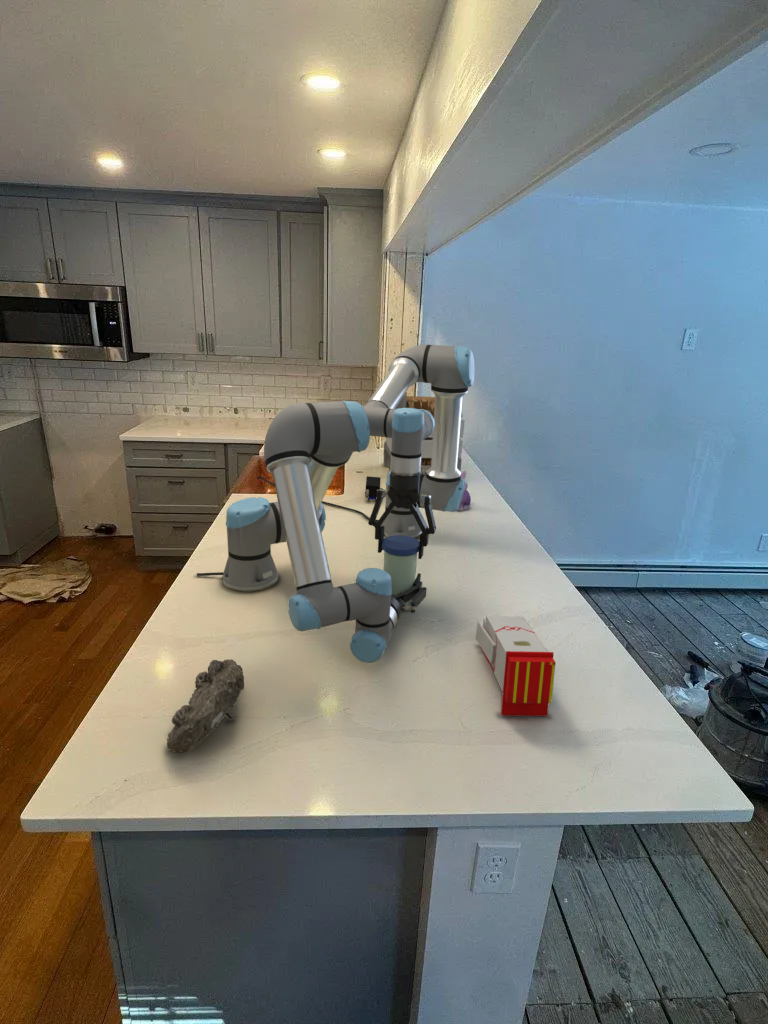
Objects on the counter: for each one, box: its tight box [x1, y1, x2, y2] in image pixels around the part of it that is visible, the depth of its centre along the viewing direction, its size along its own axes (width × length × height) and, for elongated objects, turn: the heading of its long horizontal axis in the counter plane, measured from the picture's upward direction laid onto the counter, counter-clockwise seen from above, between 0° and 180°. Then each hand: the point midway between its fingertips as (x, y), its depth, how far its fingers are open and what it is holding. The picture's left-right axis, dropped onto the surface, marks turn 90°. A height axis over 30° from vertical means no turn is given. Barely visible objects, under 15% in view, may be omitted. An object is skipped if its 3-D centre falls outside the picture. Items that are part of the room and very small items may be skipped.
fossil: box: [166, 658, 245, 754], centre depth 106 cm, size 22×10×15 cm
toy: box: [475, 615, 557, 717], centre depth 123 cm, size 12×13×30 cm
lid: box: [382, 535, 419, 556], centre depth 147 cm, size 10×10×2 cm
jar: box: [382, 550, 418, 611], centre depth 150 cm, size 9×9×17 cm
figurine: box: [456, 470, 472, 511], centre depth 227 cm, size 9×10×15 cm
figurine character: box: [364, 475, 381, 502], centre depth 235 cm, size 7×8×15 cm
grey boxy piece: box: [383, 392, 465, 473], centre depth 268 cm, size 34×33×41 cm
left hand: (402, 575), depth 155 cm, fingers closed on jar, 9 cm apart
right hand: (400, 553), depth 148 cm, fingers open, 10 cm apart
